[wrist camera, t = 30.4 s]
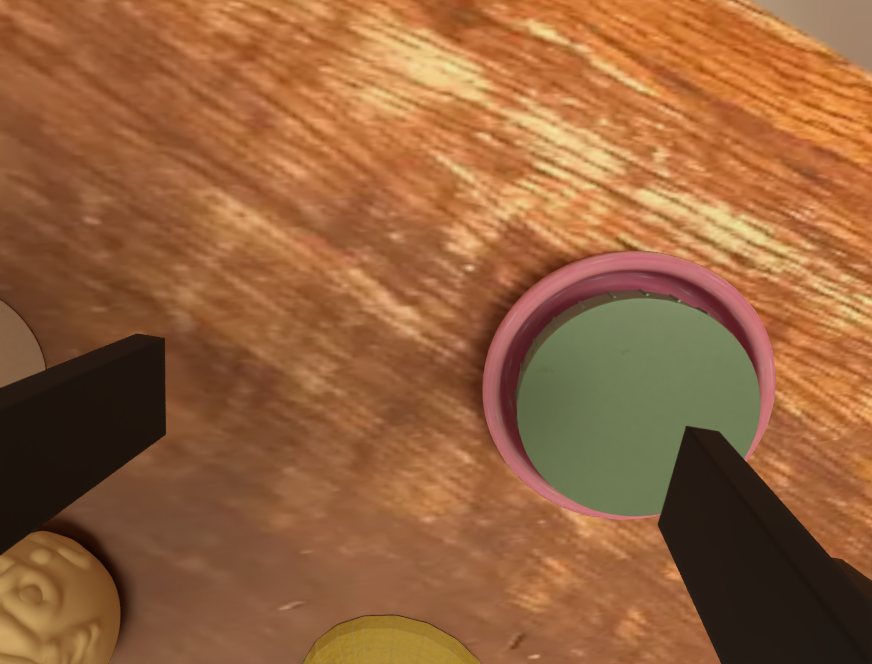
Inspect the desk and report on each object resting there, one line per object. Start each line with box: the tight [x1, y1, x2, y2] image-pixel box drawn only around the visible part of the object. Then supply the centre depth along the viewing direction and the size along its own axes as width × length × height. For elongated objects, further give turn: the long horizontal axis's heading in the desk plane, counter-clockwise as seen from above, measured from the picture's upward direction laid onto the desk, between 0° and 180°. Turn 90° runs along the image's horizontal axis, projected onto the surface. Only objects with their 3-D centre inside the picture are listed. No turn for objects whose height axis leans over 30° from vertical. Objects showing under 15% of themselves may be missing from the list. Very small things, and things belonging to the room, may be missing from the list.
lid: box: [515, 289, 761, 516], centre depth 22 cm, size 10×10×2 cm
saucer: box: [483, 251, 776, 519], centre depth 25 cm, size 12×12×3 cm
